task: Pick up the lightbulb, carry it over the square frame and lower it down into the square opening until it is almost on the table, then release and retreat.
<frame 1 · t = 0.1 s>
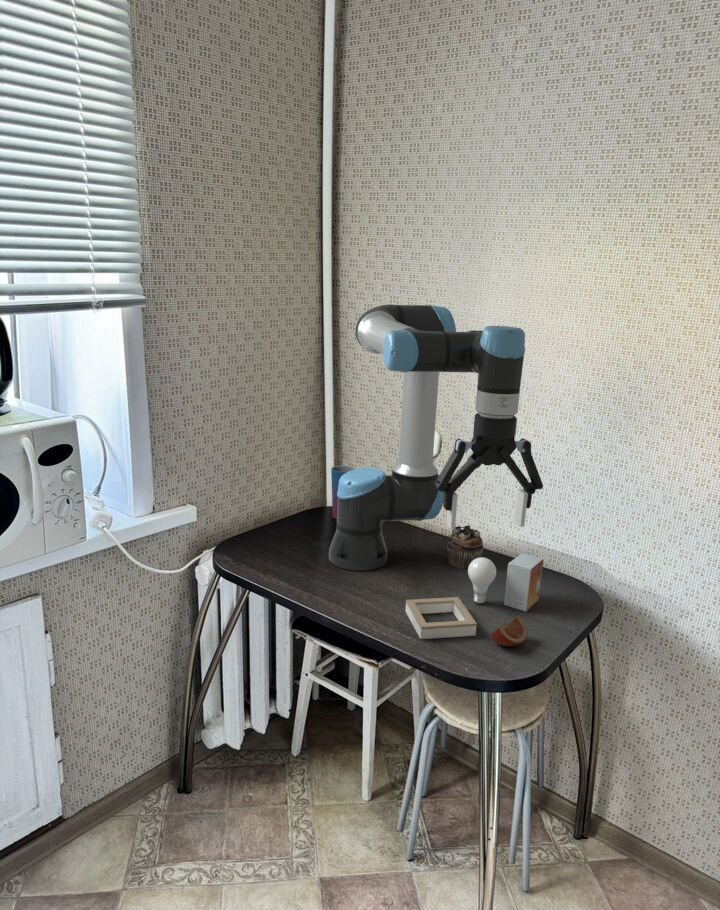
hand: (485, 525, 133), 28 cm above the table, fingers open, 13 cm apart
cup: (340, 517, 214), on the table
square frame: (439, 623, 154), on the table
cupcake: (463, 563, 185), on the table
fruit slice: (507, 644, 147), on the table
small box: (521, 603, 165), on the table
lightbulb: (478, 603, 164), on the table
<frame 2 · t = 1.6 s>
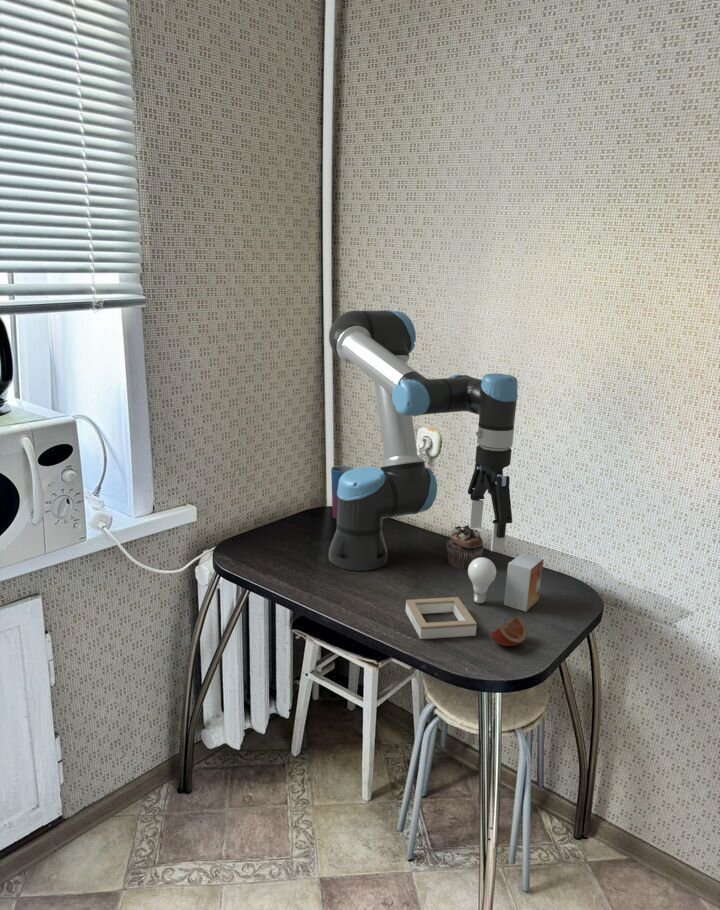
hand: (485, 538, 159), 16 cm above the table, fingers open, 13 cm apart
nothing on the table moved.
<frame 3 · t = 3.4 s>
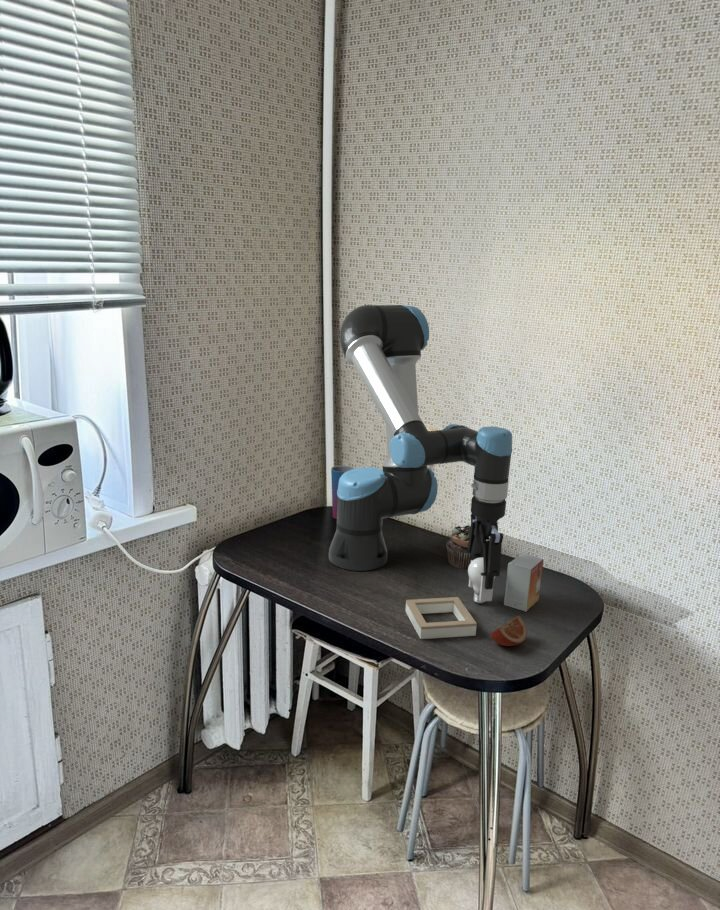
hand: (479, 593, 163), 2 cm above the table, fingers closed on lightbulb, 6 cm apart
lightbulb: (478, 603, 164), on the table, touching gripper
everything else where it was.
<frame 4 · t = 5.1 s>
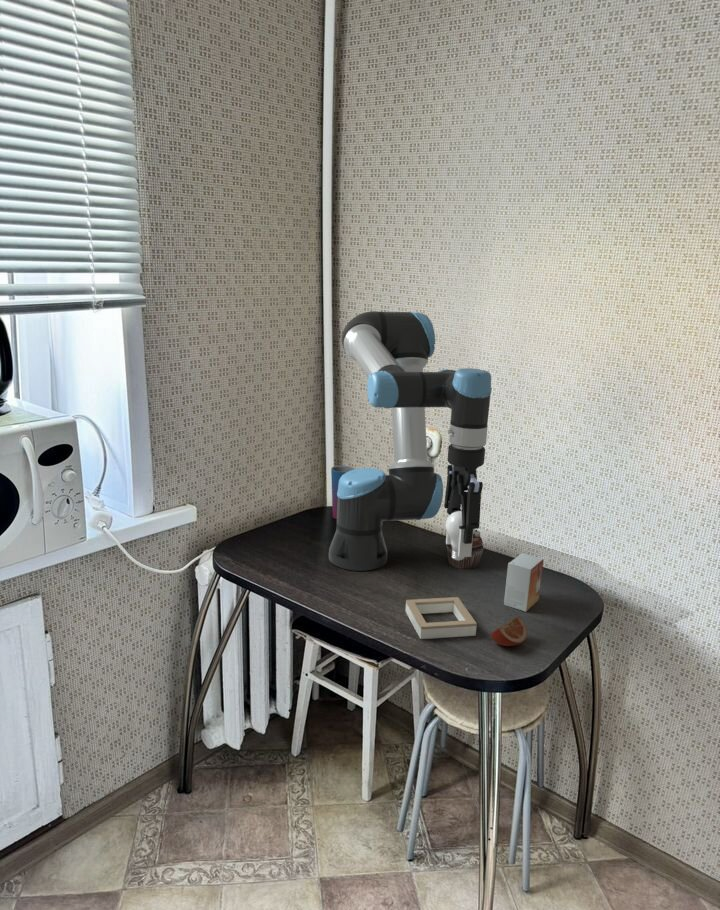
hand: (458, 549, 152), 16 cm above the table, fingers closed on lightbulb, 6 cm apart
lightbulb: (457, 560, 153), point 13 cm above the table, touching gripper
everything else where it was.
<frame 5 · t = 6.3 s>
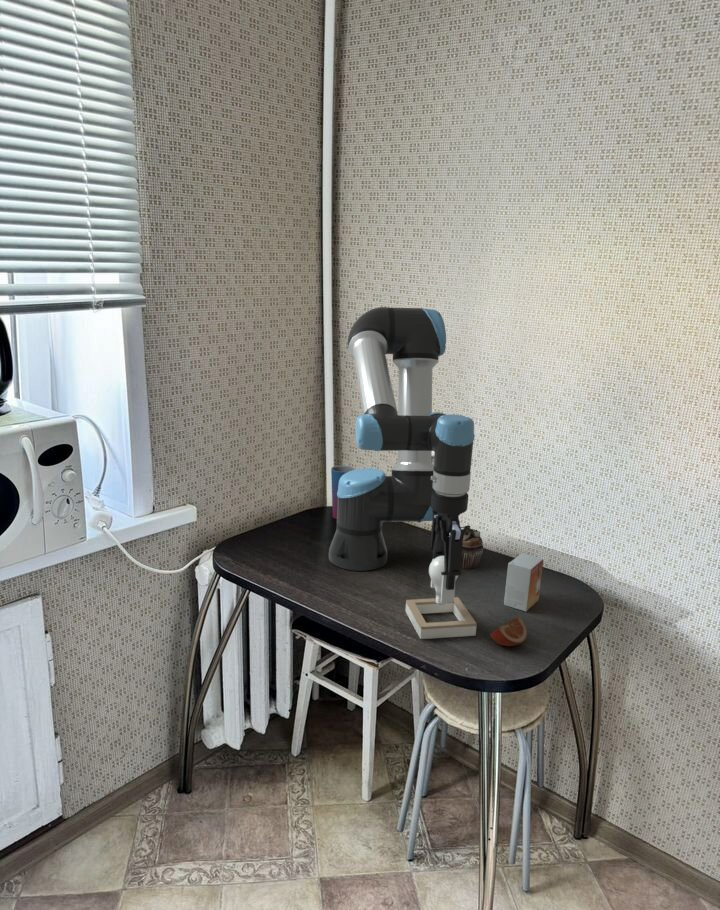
hand: (441, 593, 152), 7 cm above the table, fingers closed on lightbulb, 6 cm apart
lightbulb: (441, 605, 153), point 4 cm above the table, touching gripper
everything else where it was.
when the fingers open (4 cm above the table, at t = 7.2 s): lightbulb drops 1 cm, resting in square frame.
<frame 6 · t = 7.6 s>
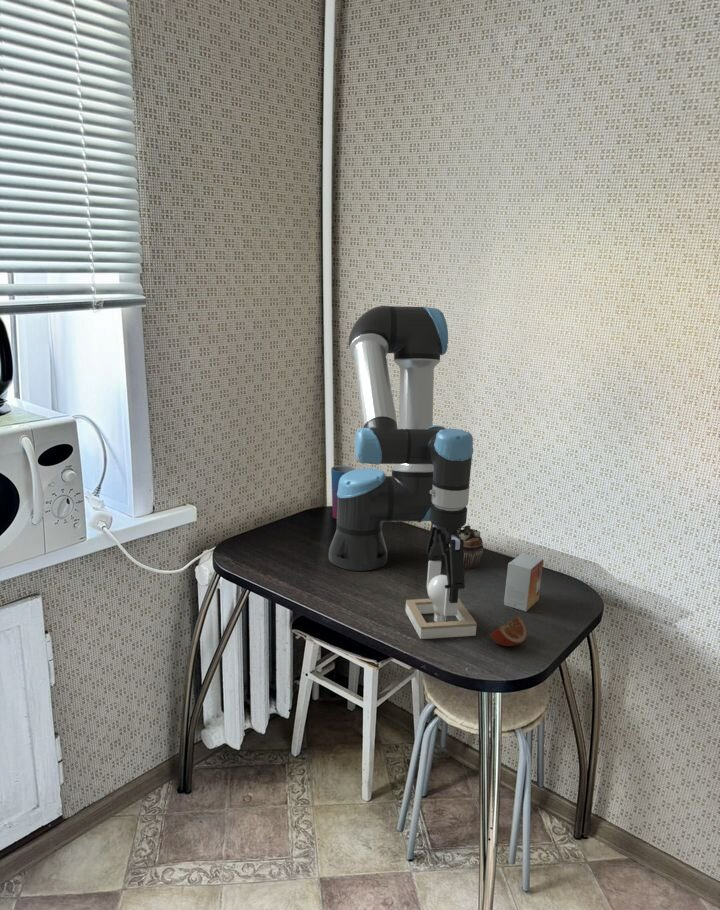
hand: (441, 601, 152), 5 cm above the table, fingers open, 11 cm apart
lightbulb: (439, 623, 154), resting in square frame
everything else where it was.
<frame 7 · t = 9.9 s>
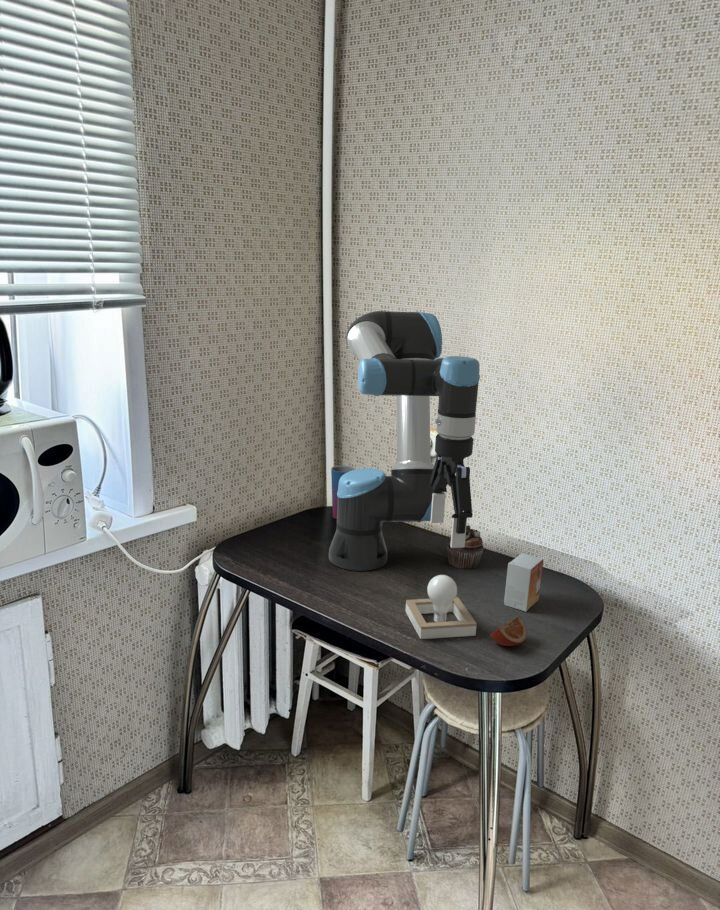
hand: (446, 534, 148), 21 cm above the table, fingers open, 13 cm apart
nothing on the table moved.
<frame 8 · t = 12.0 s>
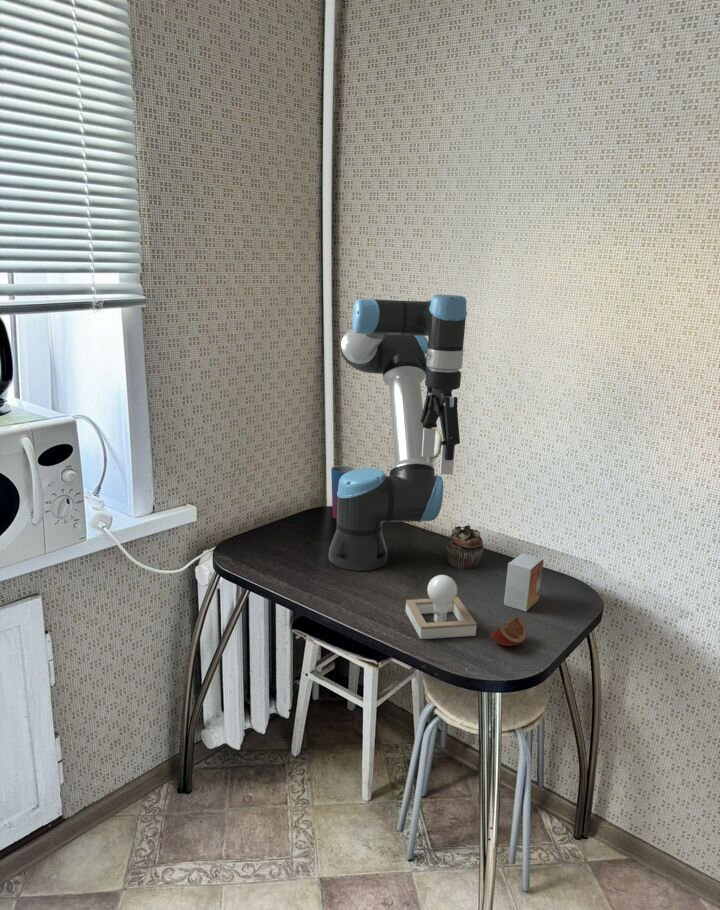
hand: (436, 464, 158), 32 cm above the table, fingers open, 13 cm apart
nothing on the table moved.
at the end: lightbulb inside the target area on the square frame (0.0 cm from its centre), point 0.0 cm above the square frame's base; the gripper is holding nothing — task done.
